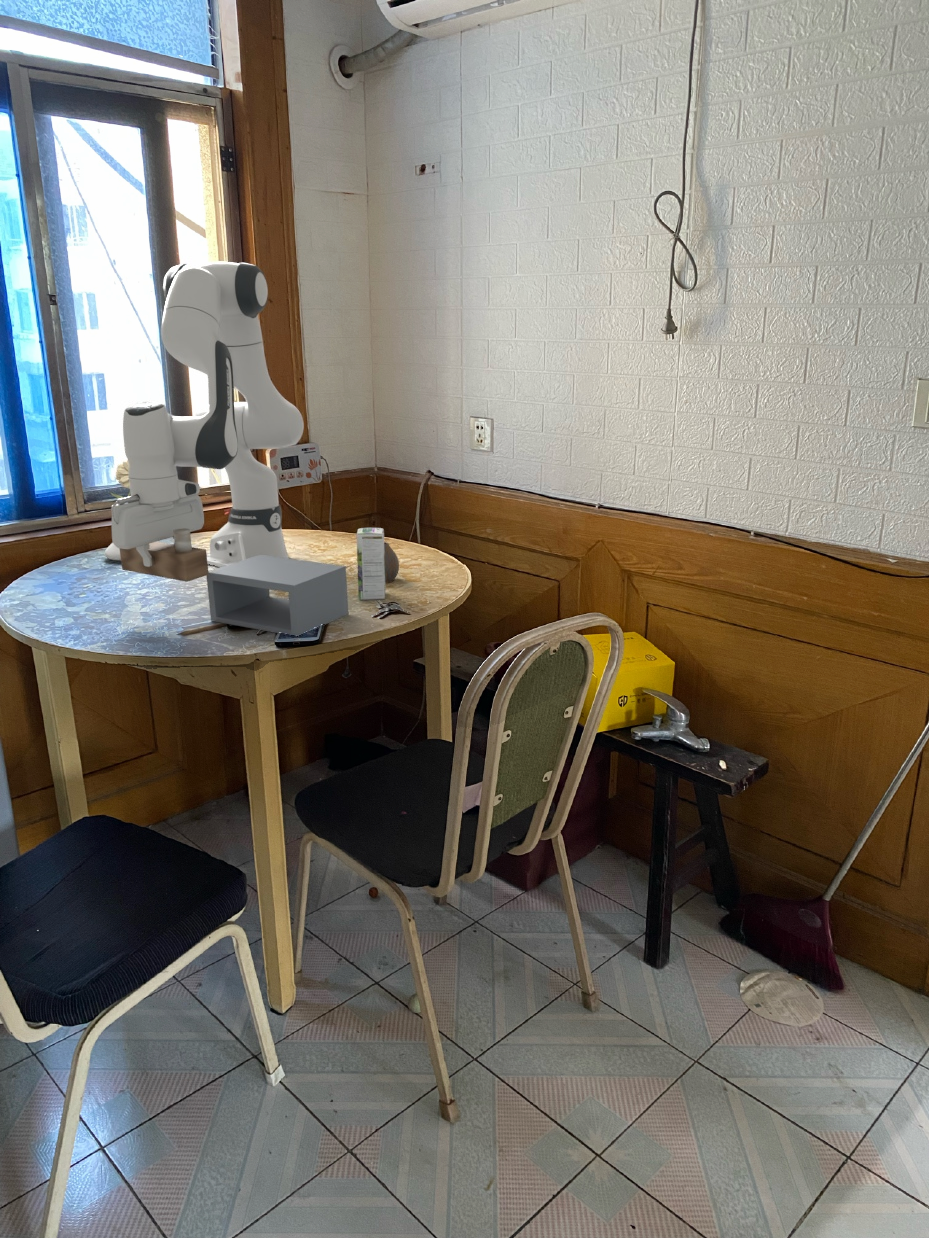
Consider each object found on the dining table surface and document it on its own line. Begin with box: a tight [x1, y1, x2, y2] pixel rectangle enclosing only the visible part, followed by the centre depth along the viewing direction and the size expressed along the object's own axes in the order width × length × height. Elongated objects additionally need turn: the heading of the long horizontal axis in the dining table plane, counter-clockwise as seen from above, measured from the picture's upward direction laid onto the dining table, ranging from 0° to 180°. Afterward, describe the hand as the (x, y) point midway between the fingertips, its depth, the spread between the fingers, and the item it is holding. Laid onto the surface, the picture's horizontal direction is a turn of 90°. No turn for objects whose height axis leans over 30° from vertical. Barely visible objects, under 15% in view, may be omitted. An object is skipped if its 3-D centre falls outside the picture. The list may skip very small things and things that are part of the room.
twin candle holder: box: [119, 528, 209, 583], centre depth 177 cm, size 18×6×9 cm, turn 59°
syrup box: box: [356, 527, 386, 601], centre depth 195 cm, size 6×6×14 cm
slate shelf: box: [205, 555, 349, 637], centre depth 182 cm, size 22×16×10 cm
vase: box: [384, 541, 400, 583], centre depth 208 cm, size 7×7×9 cm
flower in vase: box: [103, 459, 131, 561], centre depth 230 cm, size 13×11×25 cm
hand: (163, 561), depth 177 cm, fingers closed on twin candle holder, 6 cm apart
